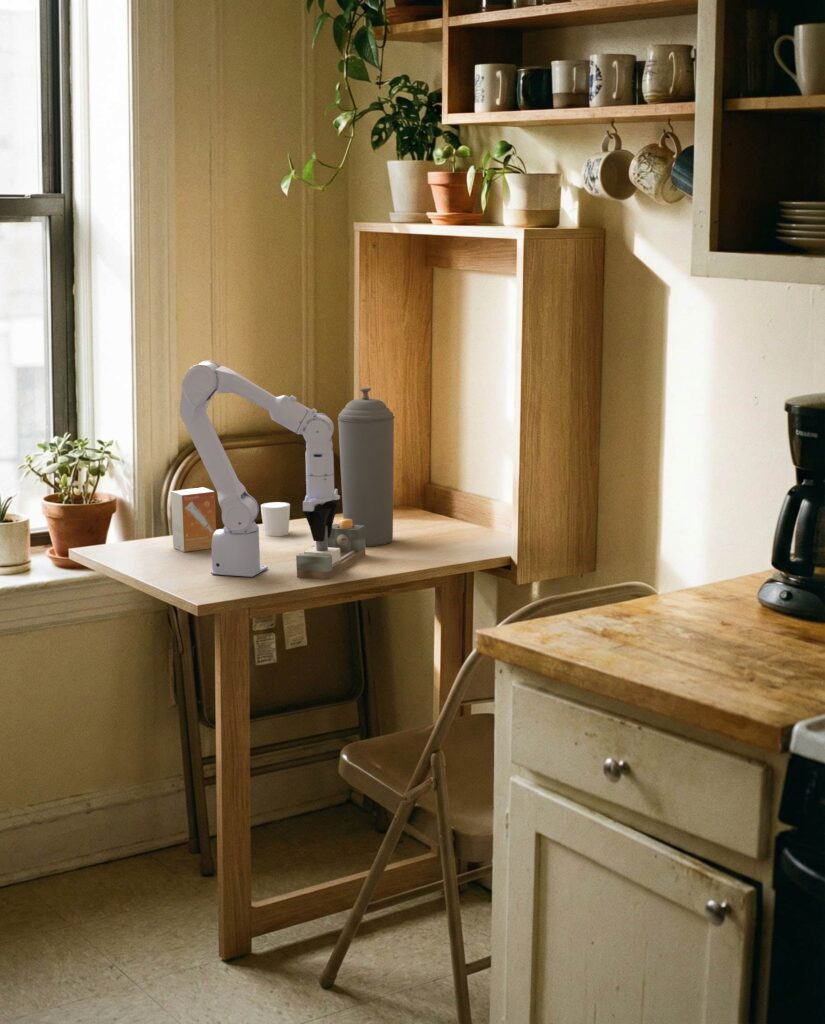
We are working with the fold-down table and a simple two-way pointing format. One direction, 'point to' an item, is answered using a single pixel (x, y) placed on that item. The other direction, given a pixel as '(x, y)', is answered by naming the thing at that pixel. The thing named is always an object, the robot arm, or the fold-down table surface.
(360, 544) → the rail base
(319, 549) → the carriage
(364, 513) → the canister
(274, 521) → the white tapered cylinder
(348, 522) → the button
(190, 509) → the small box
